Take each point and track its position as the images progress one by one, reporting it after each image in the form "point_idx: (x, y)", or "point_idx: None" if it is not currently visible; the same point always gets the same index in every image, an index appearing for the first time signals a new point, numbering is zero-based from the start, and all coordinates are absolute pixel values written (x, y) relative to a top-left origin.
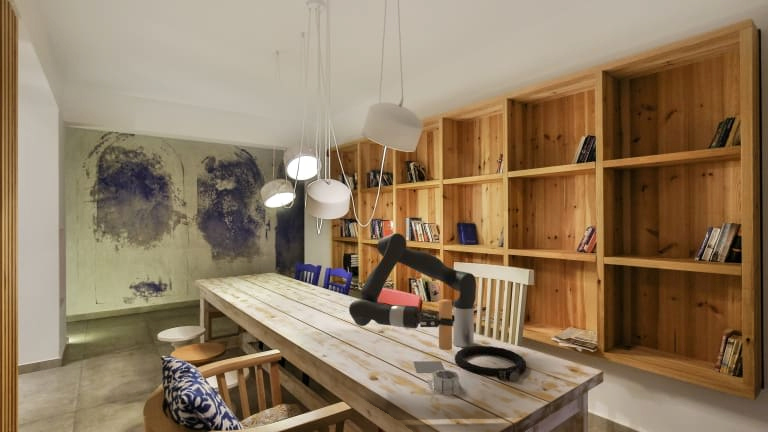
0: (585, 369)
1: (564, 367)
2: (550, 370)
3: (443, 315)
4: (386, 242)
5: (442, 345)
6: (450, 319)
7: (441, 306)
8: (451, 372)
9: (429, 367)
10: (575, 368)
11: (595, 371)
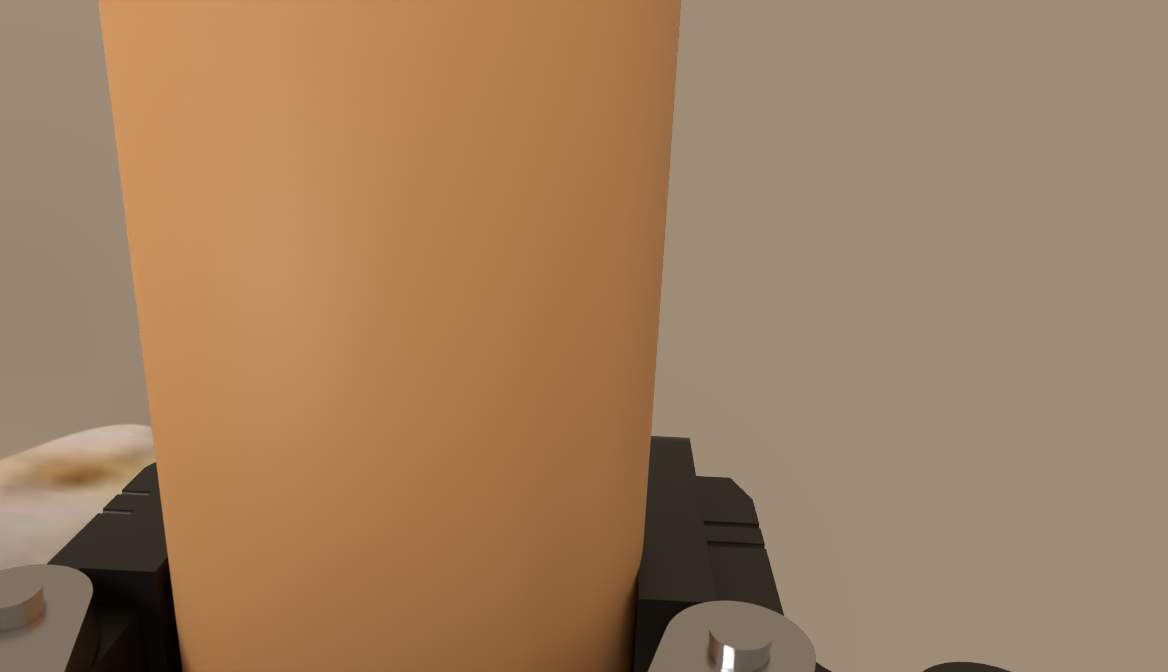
0: (86, 444)
1: (27, 498)
2: (52, 552)
3: (646, 474)
4: None
5: None
6: (686, 455)
7: (646, 161)
8: None
9: None
10: (59, 468)
11: (123, 425)
